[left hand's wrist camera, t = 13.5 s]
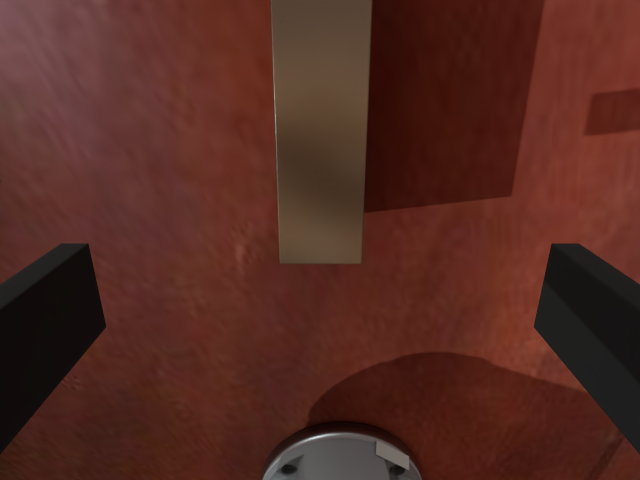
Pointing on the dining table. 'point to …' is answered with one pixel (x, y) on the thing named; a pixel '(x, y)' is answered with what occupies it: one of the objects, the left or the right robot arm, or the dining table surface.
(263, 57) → the dining table surface
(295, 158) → the bar
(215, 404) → the dining table surface
